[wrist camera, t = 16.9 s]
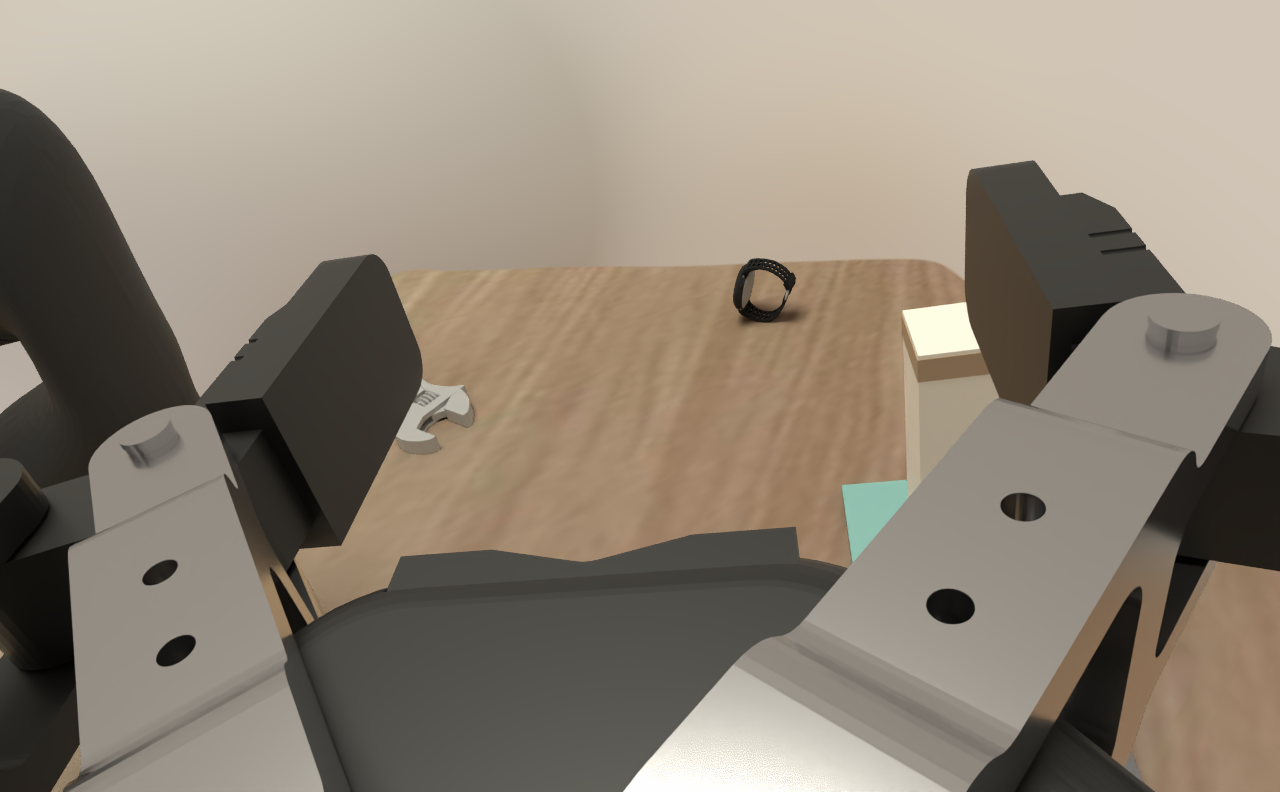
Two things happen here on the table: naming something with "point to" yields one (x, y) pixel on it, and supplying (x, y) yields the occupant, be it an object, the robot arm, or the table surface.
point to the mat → (870, 510)
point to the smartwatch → (746, 284)
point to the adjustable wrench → (433, 416)
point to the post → (940, 384)
